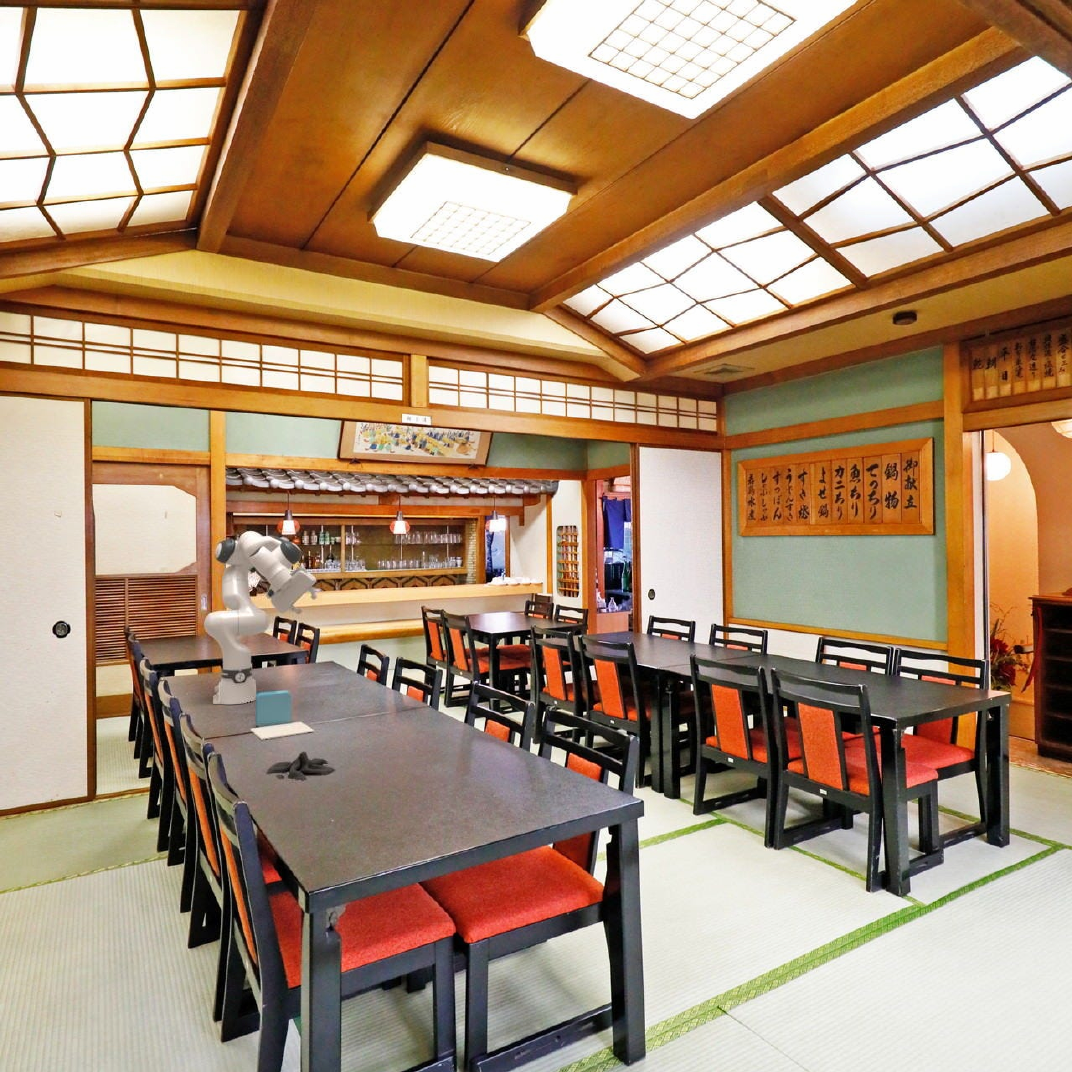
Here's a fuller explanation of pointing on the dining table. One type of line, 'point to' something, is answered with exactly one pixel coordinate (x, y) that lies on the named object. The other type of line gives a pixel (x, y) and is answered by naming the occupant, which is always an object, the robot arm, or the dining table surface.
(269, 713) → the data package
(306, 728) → the pale mat
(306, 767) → the cloth
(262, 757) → the dining table surface
